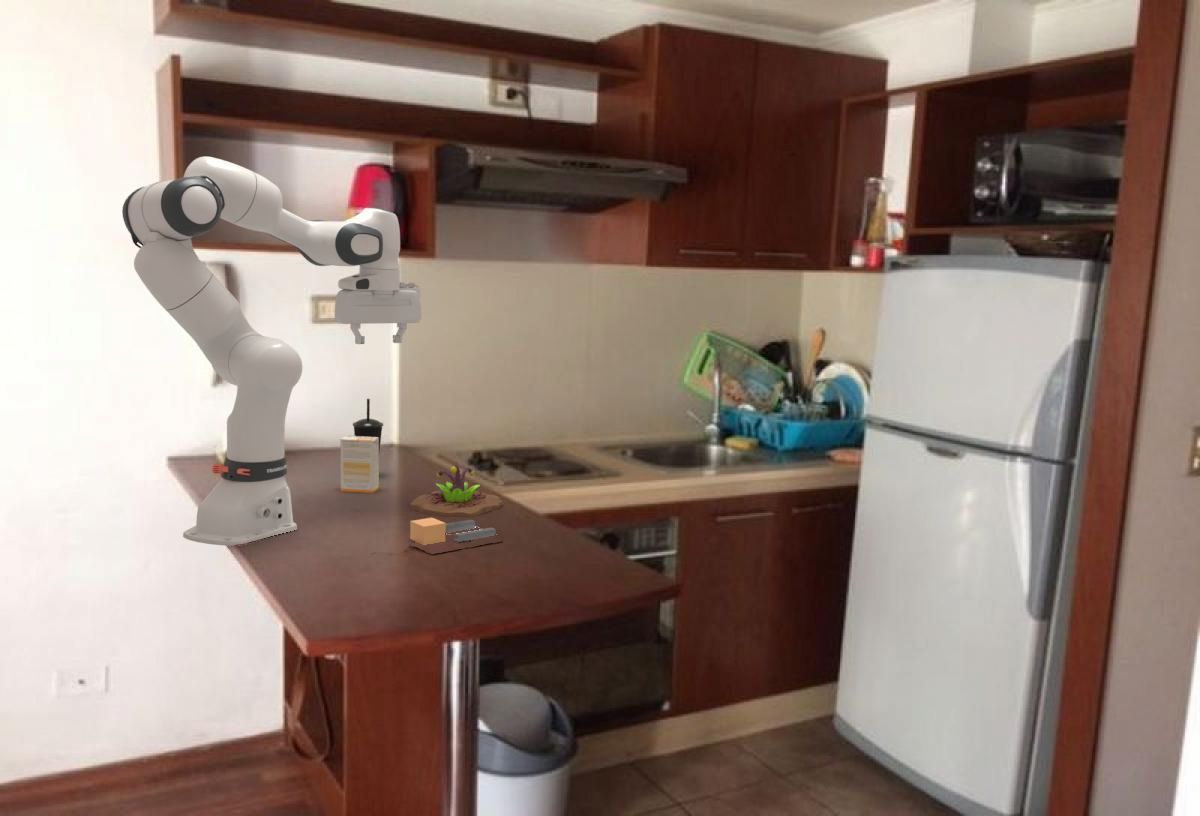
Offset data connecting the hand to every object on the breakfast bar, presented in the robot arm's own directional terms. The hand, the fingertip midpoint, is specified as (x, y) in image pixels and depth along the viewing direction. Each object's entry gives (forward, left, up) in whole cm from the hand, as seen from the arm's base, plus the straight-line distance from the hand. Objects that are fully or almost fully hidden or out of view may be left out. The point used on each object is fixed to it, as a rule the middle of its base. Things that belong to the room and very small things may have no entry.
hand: (378, 343), depth 227 cm
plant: (+2, -19, -37) cm, 42 cm away
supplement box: (+7, +9, -37) cm, 39 cm away
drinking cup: (+22, +16, -37) cm, 46 cm away
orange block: (-26, -27, -36) cm, 52 cm away
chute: (-26, -28, -37) cm, 53 cm away
